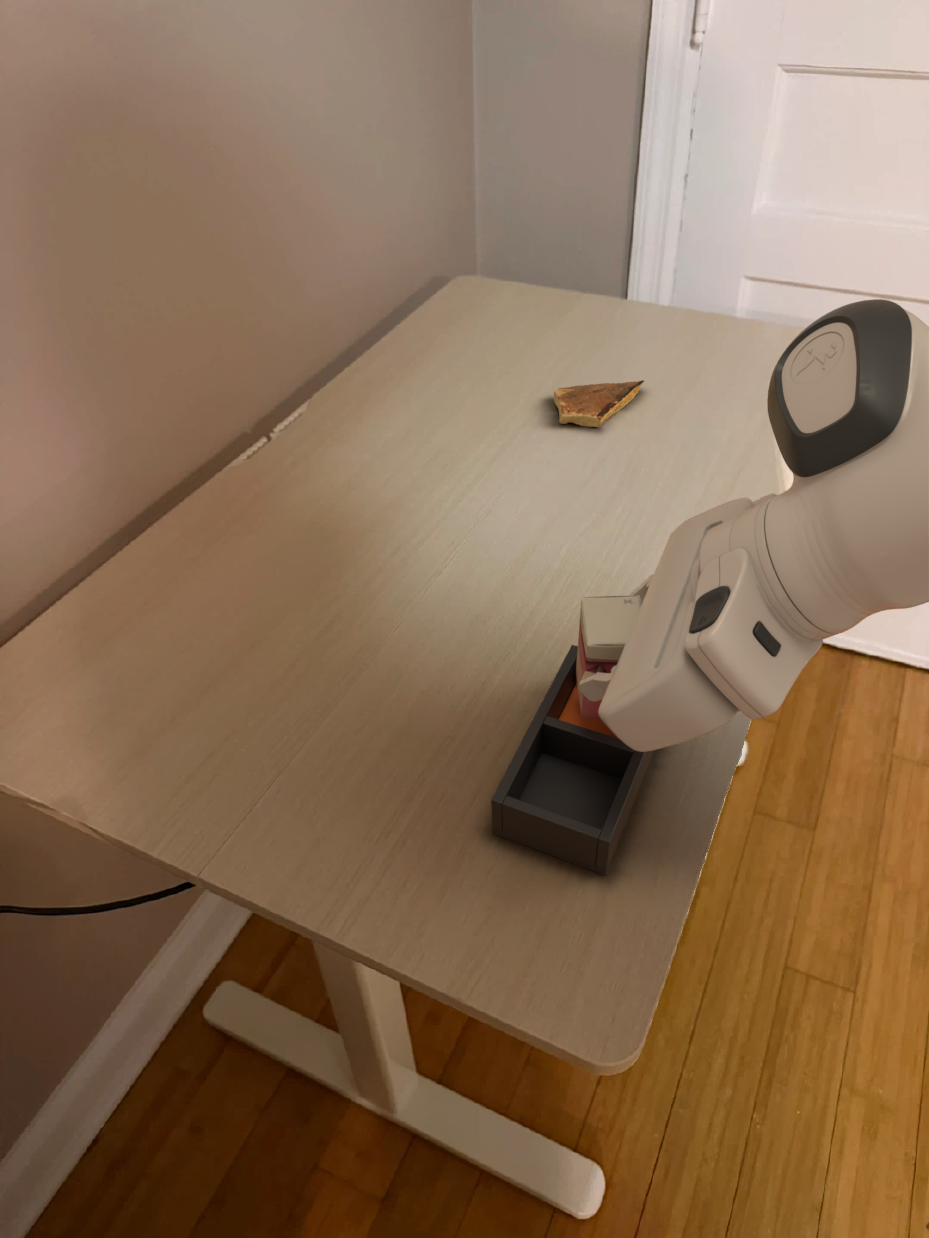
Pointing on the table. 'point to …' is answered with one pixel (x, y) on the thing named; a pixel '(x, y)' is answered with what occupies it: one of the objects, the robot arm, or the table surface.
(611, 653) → the small box
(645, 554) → the table surface
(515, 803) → the holder
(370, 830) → the table surface
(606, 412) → the shard
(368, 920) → the table surface
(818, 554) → the robot arm
